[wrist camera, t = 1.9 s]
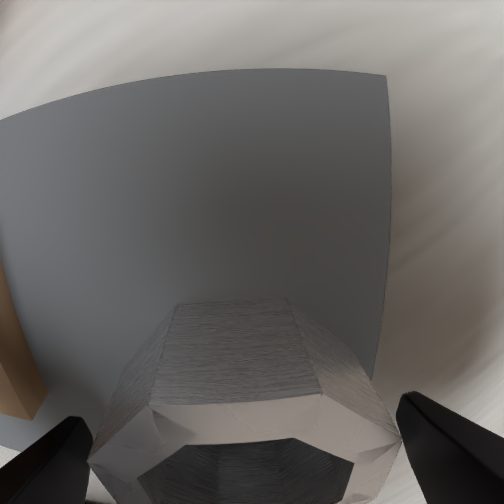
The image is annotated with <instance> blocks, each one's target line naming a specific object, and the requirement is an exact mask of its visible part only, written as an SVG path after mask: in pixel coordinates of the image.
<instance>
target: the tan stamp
mask: <svg viewBox="0 0 504 504" xmlns="http://www.w3.org/2000/svg"><path fill="white" fill-rule="evenodd" d="M48 393H49V391H48V389H47V387H46V385H45V383H44V381H43V379H42V377H41V374H40V372H39V370H38V368H37V365H36V363H35V361H34V359H33V356H32V354H31V351H30V349H29V346H28V344H27V341H26V339H25V336H24V334H23V331H22V328H21V325H20V323H19V320H18V317H17V314H16V311H15V308H14V305H13V302H12V299H11V295H10V292H9V289H8V285H7V282H6V278H5V274H4V271H3V267H2V263H1V259H0V413H1V414H4V415H8V416H12V417H16V418H20V419H24V420H29V421H32V420H33V418H34V417H35V415H36V413H37V412H38V410H39V408H40V407H41V405H42V403H43V402H44V400H45V398H46V397H47V395H48Z"/></svg>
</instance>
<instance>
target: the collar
mask: <svg viewBox="0 0 504 504" xmlns="http://www.w3.org/2000/svg"><path fill="white" fill-rule="evenodd" d="M402 442H403V439H402V437H401V435H400V433H399V431H398V430H397V428H396V426H395V424H394V422H393V420H392V419H391V417H390V415H389V413H388V412H387V410H386V408H385V406H384V404H383V403H382V401H381V399H380V397H379V395H378V394H377V392H376V390H375V388H374V387H373V385H372V383H371V381H370V380H369V378H368V376H367V374H366V373H365V371H364V369H363V368H362V366H361V364H360V362H359V361H358V359H357V357H356V356H355V354H354V352H353V350H352V349H351V348H350V347H349V346H347V345H346V344H345V343H344V342H342V341H341V340H340V339H339V338H337V337H336V336H335V335H334V334H332V333H331V332H330V331H328V330H327V329H326V328H325V327H323V326H322V325H321V324H320V323H318V322H317V321H316V320H315V319H313V318H312V317H311V316H310V315H309V314H307V313H306V312H305V311H304V310H302V309H301V308H300V307H299V306H297V305H296V304H295V303H294V302H292V301H291V300H290V299H289V298H287V297H286V298H285V296H283V297H272V298H261V299H248V300H235V301H222V302H207V303H191V304H178V305H176V306H175V307H174V308H173V309H172V310H171V311H170V313H169V314H168V315H167V316H166V317H165V318H164V320H163V321H162V322H161V323H160V324H159V325H158V327H157V328H156V329H155V330H154V331H153V332H152V334H151V335H150V336H149V337H148V338H147V339H146V341H145V342H144V343H143V344H142V345H141V346H140V348H139V349H138V350H137V351H136V352H135V354H134V355H133V356H132V357H131V358H130V359H129V361H128V362H127V363H126V364H125V365H124V368H123V370H122V372H121V375H120V377H119V379H118V382H117V384H116V387H115V389H114V391H113V394H112V396H111V399H110V401H109V404H108V406H107V409H106V411H105V414H104V416H103V419H102V422H101V424H100V427H99V429H98V432H97V435H96V437H95V440H94V443H93V445H92V448H91V451H90V454H89V456H88V459H87V463H88V464H89V466H90V467H91V469H92V470H93V472H94V473H95V474H96V476H97V477H98V479H99V480H100V481H101V483H102V484H103V485H104V487H105V488H106V489H107V491H108V492H109V493H110V494H111V496H112V497H113V498H114V500H115V501H116V502H117V503H118V504H366V503H368V502H369V501H371V500H373V499H374V498H375V497H377V495H378V493H379V491H380V489H381V487H382V485H383V483H384V481H385V479H386V477H387V475H388V473H389V471H390V469H391V467H392V465H393V462H394V460H395V458H396V456H397V453H398V451H399V449H400V446H401V444H402Z"/></svg>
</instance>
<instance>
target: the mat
mask: <svg viewBox="0 0 504 504" xmlns="http://www.w3.org/2000/svg"><path fill="white" fill-rule="evenodd" d="M390 217H391V137H390V117H389V102H388V90H387V80H386V76H384V75H376V74H368V73H359V72H348V71H335V70H319V69H240V70H223V71H211V72H200V73H190V74H182V75H174V76H167V77H160V78H153V79H147V80H142V81H136V82H131V83H125V84H120V85H116V86H111V87H106V88H102V89H98V90H94V91H90V92H86V93H82V94H78V95H74V96H71V97H67V98H64V99H60V100H57V101H54V102H50V103H47V104H44V105H41V106H38V107H35V108H32V109H29V110H26V111H23V112H21V113H18V114H15V115H12V116H10V117H7V118H5V119H2V120H0V259H1V263H2V267H3V271H4V274H5V278H6V282H7V285H8V289H9V292H10V295H11V299H12V302H13V305H14V308H15V311H16V314H17V317H18V320H19V323H20V325H21V328H22V331H23V334H24V336H25V339H26V341H27V344H28V346H29V349H30V351H31V354H32V356H33V359H34V361H35V363H36V365H37V368H38V370H39V372H40V374H41V377H42V379H43V381H44V383H45V385H46V387H47V389H48V391H49V393H48V395H47V397H46V398H45V400H44V402H43V403H42V405H41V407H40V408H39V410H38V412H37V413H36V415H35V417H34V418H33V420H32V421H29V420H24V419H20V418H16V417H12V416H8V415H4V414H1V413H0V445H1V446H4V447H7V448H10V449H13V450H17V451H20V452H22V451H24V450H25V449H26V448H28V447H29V446H30V445H32V444H33V443H34V442H36V441H37V440H38V439H39V438H41V437H42V436H43V435H45V434H46V433H47V432H48V431H50V430H51V429H52V428H54V427H55V426H56V425H57V424H59V423H60V422H61V421H63V420H64V419H65V418H66V417H68V416H79V417H82V418H83V419H84V420H85V422H86V424H87V426H88V428H89V430H90V432H91V433H92V436H93V443H94V440H95V437H96V435H97V432H98V429H99V427H100V424H101V422H102V419H103V416H104V414H105V411H106V409H107V406H108V404H109V401H110V399H111V396H112V394H113V391H114V389H115V387H116V384H117V382H118V379H119V377H120V375H121V372H122V370H123V368H124V365H125V364H126V363H127V362H128V361H129V359H130V358H131V357H132V356H133V355H134V354H135V352H136V351H137V350H138V349H139V348H140V346H141V345H142V344H143V343H144V342H145V341H146V339H147V338H148V337H149V336H150V335H151V334H152V332H153V331H154V330H155V329H156V328H157V327H158V325H159V324H160V323H161V322H162V321H163V320H164V318H165V317H166V316H167V315H168V314H169V313H170V311H171V310H172V309H173V308H174V307H175V306H176V305H178V304H191V303H207V302H222V301H235V300H248V299H261V298H272V297H283V296H285V298H286V297H287V298H289V299H290V300H291V301H292V302H294V303H295V304H296V305H297V306H299V307H300V308H301V309H302V310H304V311H305V312H306V313H307V314H309V315H310V316H311V317H312V318H313V319H315V320H316V321H317V322H318V323H320V324H321V325H322V326H323V327H325V328H326V329H327V330H328V331H330V332H331V333H332V334H334V335H335V336H336V337H337V338H339V339H340V340H341V341H342V342H344V343H345V344H346V345H347V346H349V347H350V348H351V349H352V350H353V352H354V354H355V356H356V357H357V359H358V361H359V362H360V364H361V366H362V368H363V369H364V371H365V373H366V374H367V376H368V378H369V380H370V381H371V379H372V374H373V369H374V363H375V358H376V352H377V346H378V340H379V333H380V326H381V319H382V312H383V304H384V295H385V286H386V276H387V265H388V253H389V238H390ZM90 468H91V467H90Z"/></svg>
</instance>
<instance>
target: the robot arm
mask: <svg viewBox="0 0 504 504" xmlns="http://www.w3.org/2000/svg"><path fill="white" fill-rule="evenodd" d="M396 421H397V424H398V427H399V430H400V434H401V437H402V439H403V443H404V446H405V450H406V453H407V456H408V459H409V462H410V464H411V467H412V469H413V471H414V474H415V476H416V478H417V481H418V483H419V485H420V488H421V490H422V492H423V495H424V497H425V499H426V502H427V504H504V438H503V437H501V436H499V435H497V434H495V433H493V432H491V431H489V430H487V429H485V428H483V427H481V426H480V425H478V424H476V423H474V422H472V421H470V420H468V419H466V418H464V417H463V416H461V415H459V414H457V413H455V412H453V411H451V410H450V409H448V408H446V407H444V406H442V405H440V404H439V403H437V402H435V401H433V400H431V399H430V398H428V397H426V396H424V395H422V394H421V393H419V392H417V391H412V392H408V393H404V394H403V395H402V396H401V399H400V402H399V405H398V408H397V412H396ZM92 445H93V436H92V433H91V432H90V430H89V428H88V426H87V424H86V422H85V420H84V419H83V418H82V417H79V416H68V417H66V418H65V419H64V420H63V421H61V422H60V423H59V424H57V425H56V426H55V427H54V428H52V429H51V430H50V431H48V432H47V433H46V434H45V435H43V436H42V437H41V438H39V439H38V440H37V441H36V442H34V443H33V444H32V445H30V446H29V447H28V448H26V449H25V450H24V451H22V452H21V453H20V454H19V455H17V456H16V457H15V458H13V459H12V460H11V461H9V462H8V463H7V464H5V465H4V466H3V467H2V468H0V504H84V502H85V497H86V492H87V487H88V482H89V474H90V466H89V464H88V463H87V459H88V456H89V454H90V451H91V448H92Z"/></svg>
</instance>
